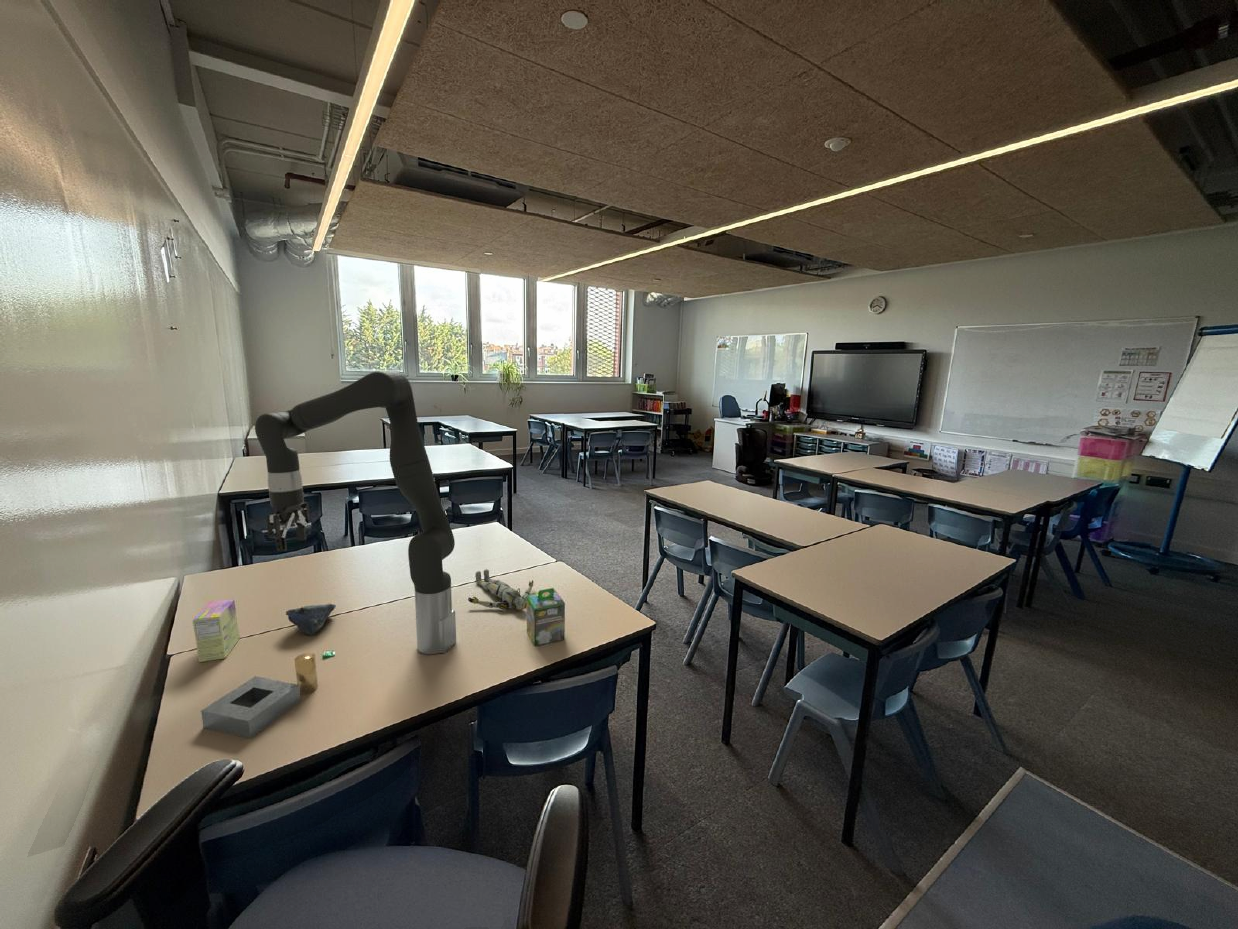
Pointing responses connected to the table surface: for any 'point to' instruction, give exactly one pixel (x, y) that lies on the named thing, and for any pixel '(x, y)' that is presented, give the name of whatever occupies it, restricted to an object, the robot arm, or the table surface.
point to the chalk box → (545, 617)
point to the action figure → (501, 593)
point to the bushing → (306, 672)
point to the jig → (245, 721)
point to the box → (216, 630)
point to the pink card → (328, 653)
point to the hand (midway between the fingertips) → (292, 545)
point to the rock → (310, 617)
